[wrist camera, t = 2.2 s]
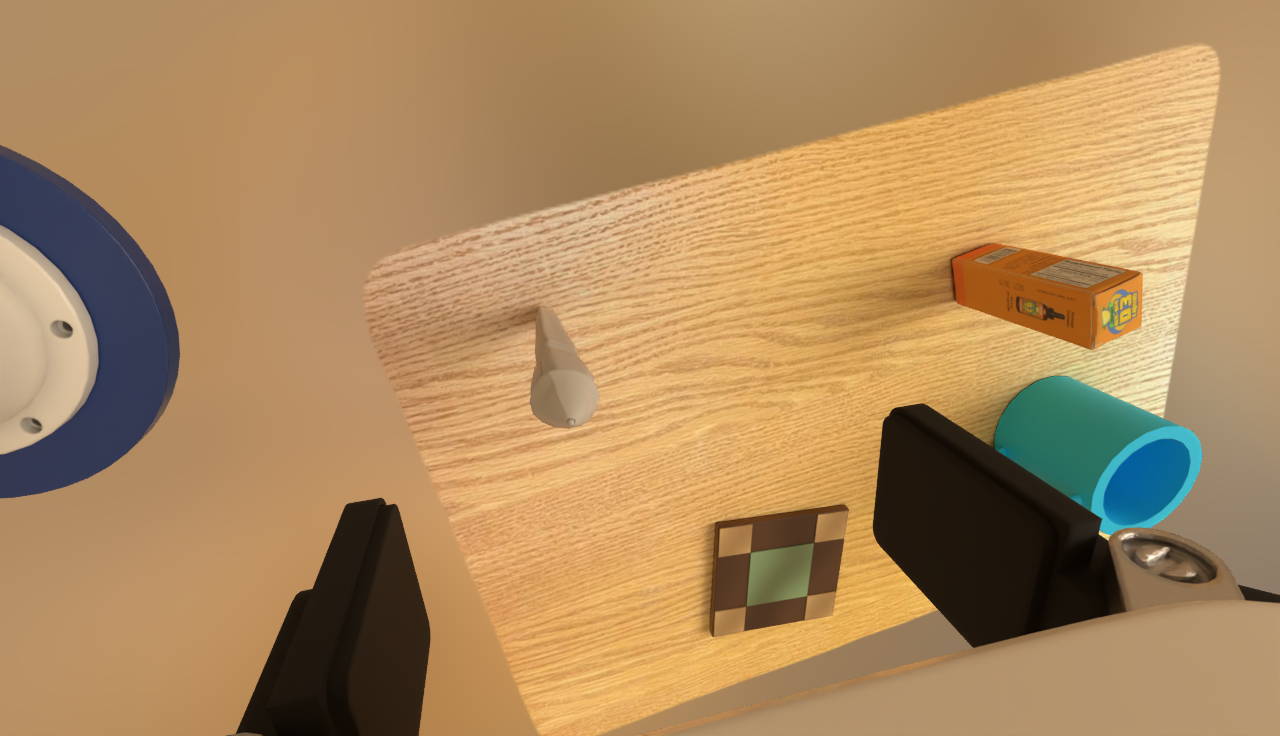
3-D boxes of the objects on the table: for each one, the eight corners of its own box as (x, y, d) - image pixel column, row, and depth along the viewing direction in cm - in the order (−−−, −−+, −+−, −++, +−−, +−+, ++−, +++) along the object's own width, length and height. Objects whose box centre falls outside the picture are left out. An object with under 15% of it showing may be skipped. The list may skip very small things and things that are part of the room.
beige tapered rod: (559, 339, 35) (594, 462, 22) (513, 326, 34) (524, 445, 21) (573, 300, 34) (618, 402, 22) (527, 285, 33) (546, 383, 21)
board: (709, 631, 46) (712, 638, 45) (715, 522, 42) (718, 528, 42) (829, 610, 48) (833, 616, 47) (844, 504, 44) (849, 509, 44)
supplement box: (999, 285, 40) (1145, 332, 31) (953, 303, 40) (1087, 355, 31) (996, 237, 39) (1149, 272, 30) (949, 256, 39) (1088, 296, 30)
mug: (1085, 357, 44) (1204, 404, 37) (1091, 444, 48) (1200, 502, 40) (941, 427, 44) (1032, 489, 36) (957, 509, 47) (1043, 581, 40)
